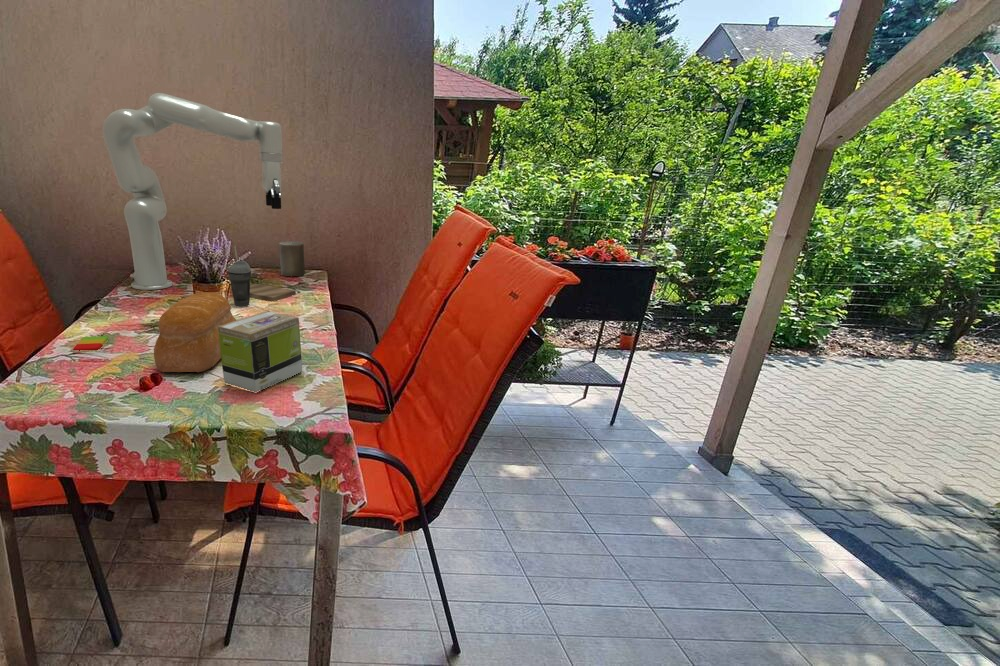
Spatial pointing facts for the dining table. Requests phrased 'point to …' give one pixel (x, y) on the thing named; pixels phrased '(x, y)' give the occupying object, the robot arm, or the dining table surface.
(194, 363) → the bread
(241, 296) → the beverage cup
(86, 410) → the dining table surface
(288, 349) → the tea box
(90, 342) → the popsicle
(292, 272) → the pillar candle
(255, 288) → the walnut board
